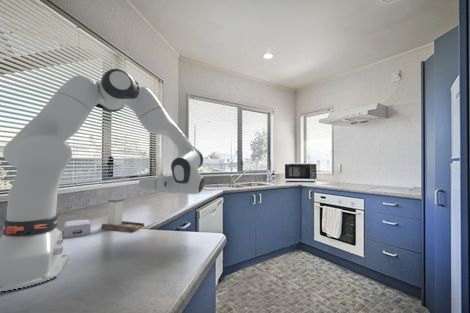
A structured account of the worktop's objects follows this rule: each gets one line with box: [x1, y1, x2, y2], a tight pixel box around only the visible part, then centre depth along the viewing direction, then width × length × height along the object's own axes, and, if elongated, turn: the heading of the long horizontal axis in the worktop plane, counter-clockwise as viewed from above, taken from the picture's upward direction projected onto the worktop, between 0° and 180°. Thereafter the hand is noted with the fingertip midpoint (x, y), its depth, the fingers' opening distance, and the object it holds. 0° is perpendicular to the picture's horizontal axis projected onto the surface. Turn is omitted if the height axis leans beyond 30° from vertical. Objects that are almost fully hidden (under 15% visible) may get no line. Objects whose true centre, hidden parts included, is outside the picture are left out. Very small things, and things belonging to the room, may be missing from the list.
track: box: [101, 220, 145, 233], centre depth 106 cm, size 17×8×2 cm, turn 78°
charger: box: [62, 218, 92, 238], centre depth 99 cm, size 5×9×15 cm
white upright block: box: [107, 197, 125, 225], centre depth 107 cm, size 4×5×12 cm
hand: (142, 181), depth 105 cm, fingers closed
